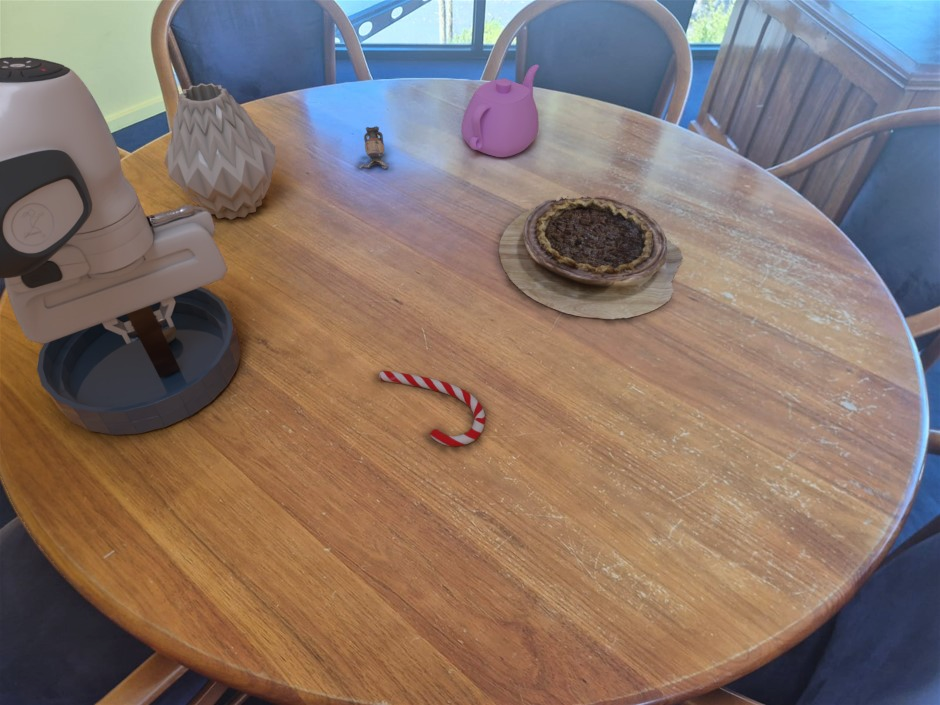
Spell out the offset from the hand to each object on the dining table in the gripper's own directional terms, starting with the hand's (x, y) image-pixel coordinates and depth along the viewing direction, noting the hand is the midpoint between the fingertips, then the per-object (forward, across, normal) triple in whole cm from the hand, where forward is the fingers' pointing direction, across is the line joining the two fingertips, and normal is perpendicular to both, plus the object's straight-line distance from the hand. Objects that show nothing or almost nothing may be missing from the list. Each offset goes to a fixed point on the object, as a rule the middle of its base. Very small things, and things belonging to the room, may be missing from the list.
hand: (149, 332), depth 70 cm
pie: (+8, -60, +10) cm, 61 cm away
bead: (+6, -1, -6) cm, 8 cm away
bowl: (+8, +1, -3) cm, 8 cm away
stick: (+6, 0, 0) cm, 6 cm away
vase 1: (+8, -20, -31) cm, 37 cm away
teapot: (+8, -70, -25) cm, 74 cm away
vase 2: (+8, -46, -31) cm, 55 cm away
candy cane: (+8, -24, +21) cm, 33 cm away
